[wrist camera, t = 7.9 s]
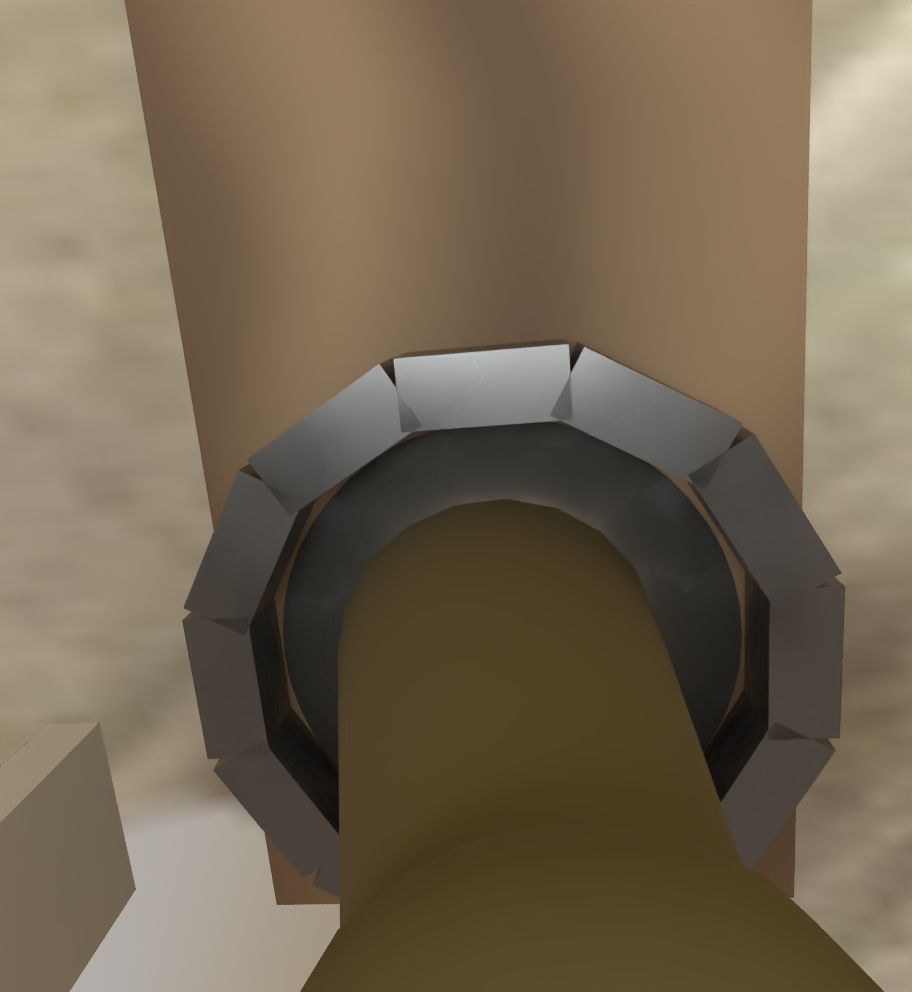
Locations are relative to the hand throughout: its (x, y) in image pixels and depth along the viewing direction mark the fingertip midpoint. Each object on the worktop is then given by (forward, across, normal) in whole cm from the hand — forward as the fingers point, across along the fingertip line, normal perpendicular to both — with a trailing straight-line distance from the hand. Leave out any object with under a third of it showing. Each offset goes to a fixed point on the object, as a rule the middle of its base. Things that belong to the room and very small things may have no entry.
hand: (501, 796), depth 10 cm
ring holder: (+5, 0, 0) cm, 5 cm away
